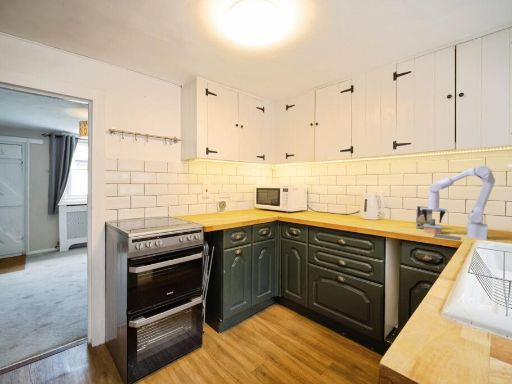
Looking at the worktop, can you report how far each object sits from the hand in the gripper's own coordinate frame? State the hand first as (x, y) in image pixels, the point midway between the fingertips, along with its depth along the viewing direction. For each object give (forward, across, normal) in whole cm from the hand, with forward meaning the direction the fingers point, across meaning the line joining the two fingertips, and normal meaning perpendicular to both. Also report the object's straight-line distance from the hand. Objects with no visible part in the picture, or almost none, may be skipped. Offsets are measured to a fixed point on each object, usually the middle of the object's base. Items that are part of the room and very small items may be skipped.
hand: (432, 222), depth 165 cm
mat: (+7, +8, -11) cm, 16 cm away
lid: (+3, 0, 0) cm, 3 cm away
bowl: (+7, 0, 0) cm, 7 cm away
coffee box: (+8, -7, +15) cm, 18 cm away
